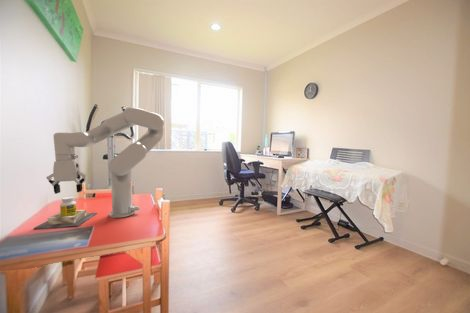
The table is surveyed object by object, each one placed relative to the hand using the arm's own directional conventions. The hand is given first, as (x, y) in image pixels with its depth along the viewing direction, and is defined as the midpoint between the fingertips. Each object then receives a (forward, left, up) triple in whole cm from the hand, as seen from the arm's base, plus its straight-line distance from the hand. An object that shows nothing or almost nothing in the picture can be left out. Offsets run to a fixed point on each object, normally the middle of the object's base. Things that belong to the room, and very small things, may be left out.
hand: (68, 192), depth 103 cm
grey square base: (+1, 0, -14) cm, 14 cm away
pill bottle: (0, 0, -14) cm, 14 cm away
